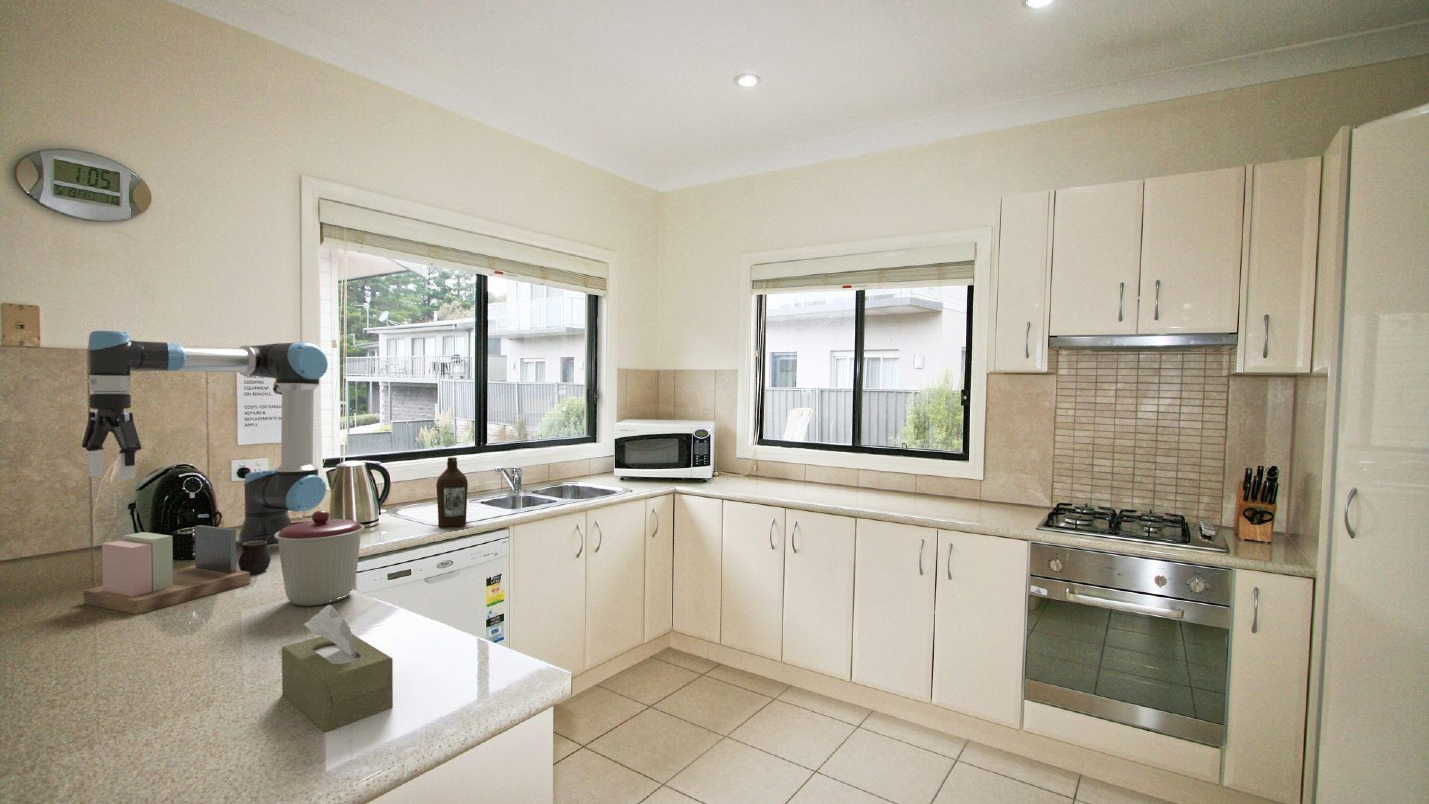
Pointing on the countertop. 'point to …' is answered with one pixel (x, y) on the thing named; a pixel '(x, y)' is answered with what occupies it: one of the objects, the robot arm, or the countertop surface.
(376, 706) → the tissue box
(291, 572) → the canister
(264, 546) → the mate gourd
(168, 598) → the wooden serving tray
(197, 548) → the bookend
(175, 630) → the countertop surface
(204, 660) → the countertop surface
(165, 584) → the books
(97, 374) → the robot arm
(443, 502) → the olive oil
